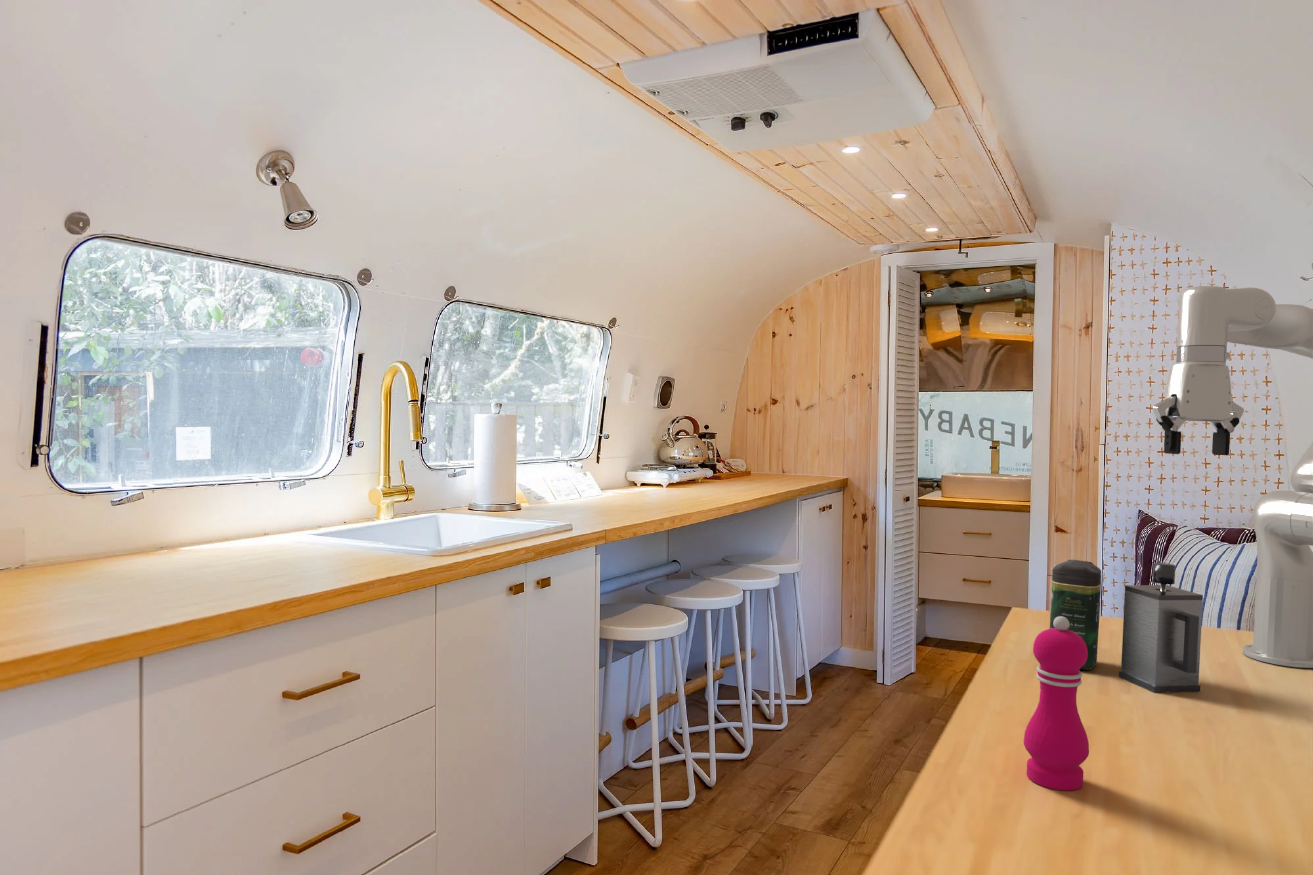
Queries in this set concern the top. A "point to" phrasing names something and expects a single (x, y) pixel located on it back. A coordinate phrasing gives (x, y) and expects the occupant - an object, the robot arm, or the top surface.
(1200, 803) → the top surface
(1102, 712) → the top surface
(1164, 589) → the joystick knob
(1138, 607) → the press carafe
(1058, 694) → the pepper mill
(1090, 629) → the coffee jar
